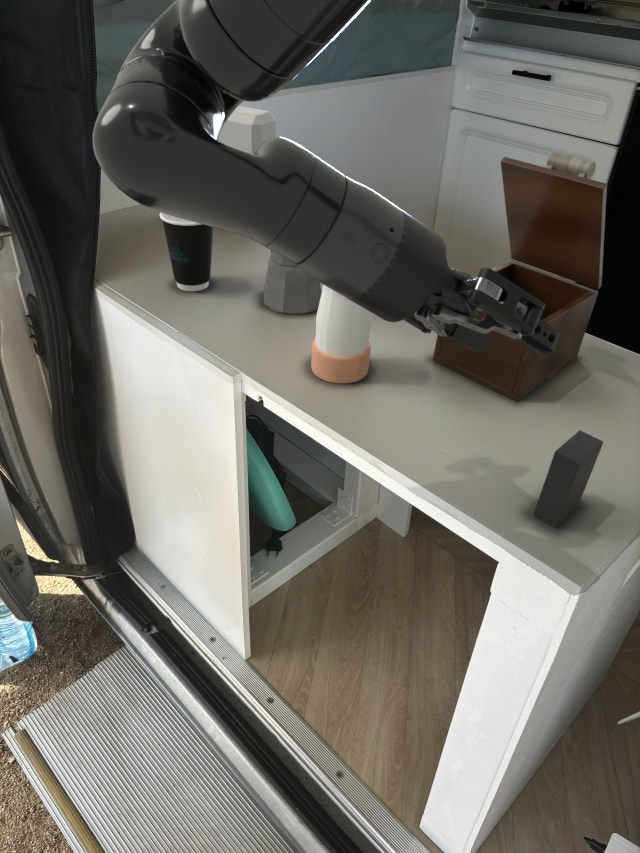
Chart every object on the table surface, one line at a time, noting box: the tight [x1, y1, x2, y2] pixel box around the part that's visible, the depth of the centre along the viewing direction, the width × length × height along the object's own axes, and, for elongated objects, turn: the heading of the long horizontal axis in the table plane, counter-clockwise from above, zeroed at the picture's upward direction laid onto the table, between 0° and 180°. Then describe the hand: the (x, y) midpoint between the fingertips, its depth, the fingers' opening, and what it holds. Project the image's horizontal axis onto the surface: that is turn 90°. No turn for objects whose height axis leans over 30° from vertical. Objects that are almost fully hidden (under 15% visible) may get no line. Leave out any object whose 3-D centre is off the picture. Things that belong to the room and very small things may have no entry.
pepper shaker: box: [310, 284, 372, 384], centre depth 77 cm, size 7×7×19 cm
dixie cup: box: [159, 212, 214, 292], centre depth 97 cm, size 8×8×11 cm
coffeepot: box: [262, 250, 322, 315], centre depth 92 cm, size 15×9×18 cm, turn 29°
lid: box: [500, 151, 608, 291], centre depth 79 cm, size 16×13×5 cm
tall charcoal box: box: [533, 429, 604, 529], centre depth 62 cm, size 2×5×8 cm, turn 135°
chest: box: [432, 260, 599, 402], centre depth 84 cm, size 16×13×10 cm
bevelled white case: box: [218, 105, 277, 154], centre depth 118 cm, size 21×8×20 cm, turn 60°
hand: (516, 344), depth 56 cm, fingers open, 8 cm apart
